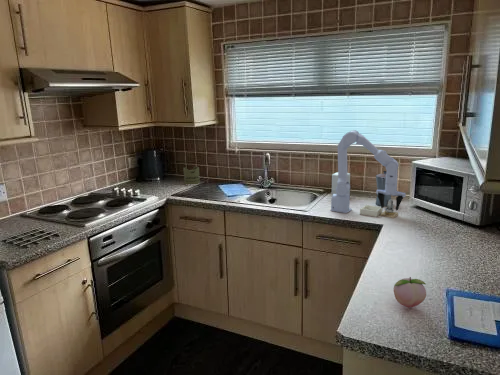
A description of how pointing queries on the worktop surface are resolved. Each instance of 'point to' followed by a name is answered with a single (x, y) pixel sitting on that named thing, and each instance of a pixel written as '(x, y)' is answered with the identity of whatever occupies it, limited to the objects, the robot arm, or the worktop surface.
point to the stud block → (389, 214)
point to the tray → (371, 210)
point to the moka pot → (382, 188)
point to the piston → (191, 176)
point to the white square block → (334, 182)
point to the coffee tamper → (389, 206)
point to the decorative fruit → (409, 292)
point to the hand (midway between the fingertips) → (389, 208)
